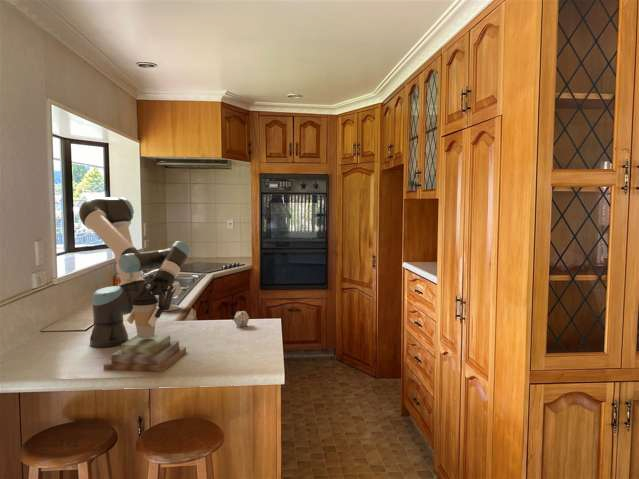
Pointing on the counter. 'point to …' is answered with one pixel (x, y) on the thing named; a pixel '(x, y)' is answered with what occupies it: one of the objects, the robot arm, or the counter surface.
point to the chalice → (174, 295)
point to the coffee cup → (144, 315)
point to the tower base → (146, 366)
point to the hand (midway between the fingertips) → (139, 323)
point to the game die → (241, 318)
